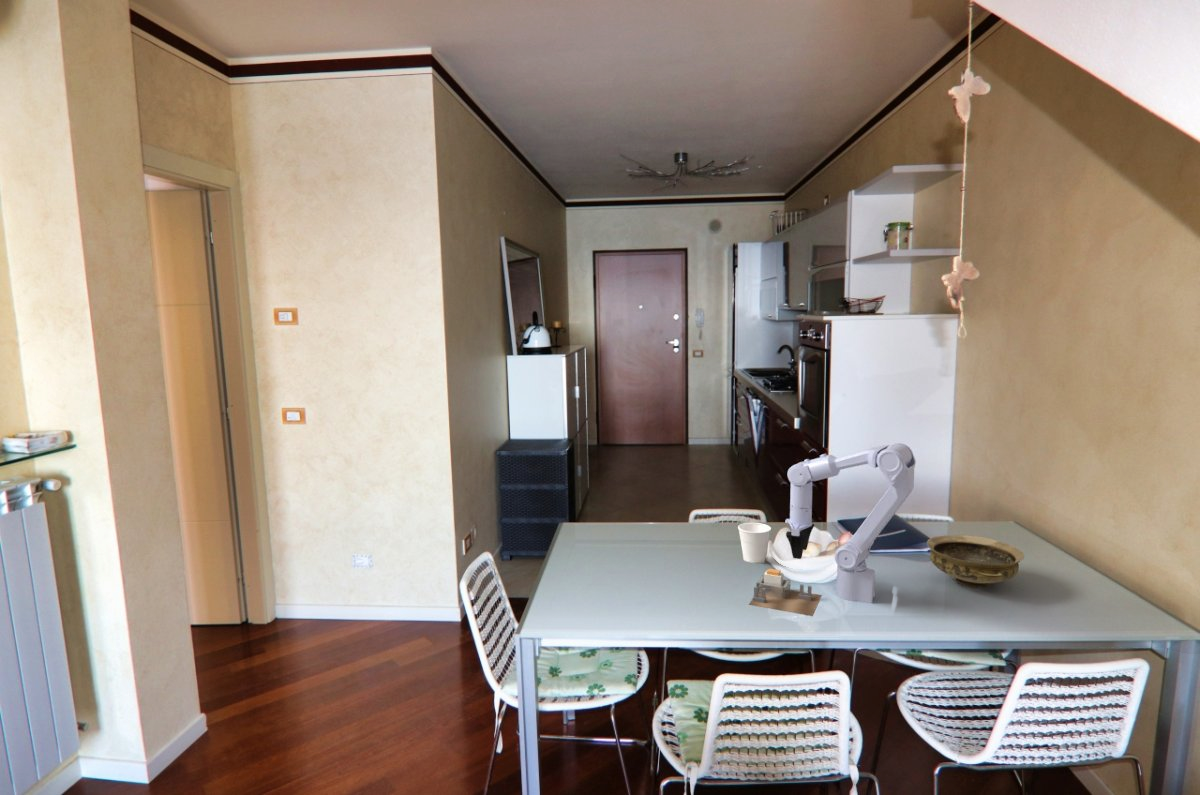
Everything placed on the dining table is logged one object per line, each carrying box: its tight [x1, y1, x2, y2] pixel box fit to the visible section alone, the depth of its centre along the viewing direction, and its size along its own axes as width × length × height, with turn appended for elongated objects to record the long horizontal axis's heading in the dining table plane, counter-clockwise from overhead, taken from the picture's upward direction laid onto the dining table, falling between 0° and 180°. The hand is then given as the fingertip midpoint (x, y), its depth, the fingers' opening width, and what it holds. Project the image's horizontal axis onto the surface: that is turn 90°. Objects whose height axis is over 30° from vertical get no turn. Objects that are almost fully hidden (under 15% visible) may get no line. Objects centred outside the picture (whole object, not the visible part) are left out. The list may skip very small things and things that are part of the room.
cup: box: [737, 522, 772, 564], centre depth 211 cm, size 10×10×11 cm
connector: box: [763, 568, 784, 586], centre depth 186 cm, size 4×3×6 cm, turn 64°
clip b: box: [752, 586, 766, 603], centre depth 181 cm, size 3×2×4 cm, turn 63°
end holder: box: [755, 574, 792, 599], centre depth 187 cm, size 8×6×3 cm
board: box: [748, 589, 823, 617], centre depth 182 cm, size 16×14×1 cm
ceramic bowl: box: [926, 534, 1025, 588], centre depth 193 cm, size 30×24×10 cm
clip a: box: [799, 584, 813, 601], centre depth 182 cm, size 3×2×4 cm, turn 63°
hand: (799, 553), depth 192 cm, fingers open, 7 cm apart
